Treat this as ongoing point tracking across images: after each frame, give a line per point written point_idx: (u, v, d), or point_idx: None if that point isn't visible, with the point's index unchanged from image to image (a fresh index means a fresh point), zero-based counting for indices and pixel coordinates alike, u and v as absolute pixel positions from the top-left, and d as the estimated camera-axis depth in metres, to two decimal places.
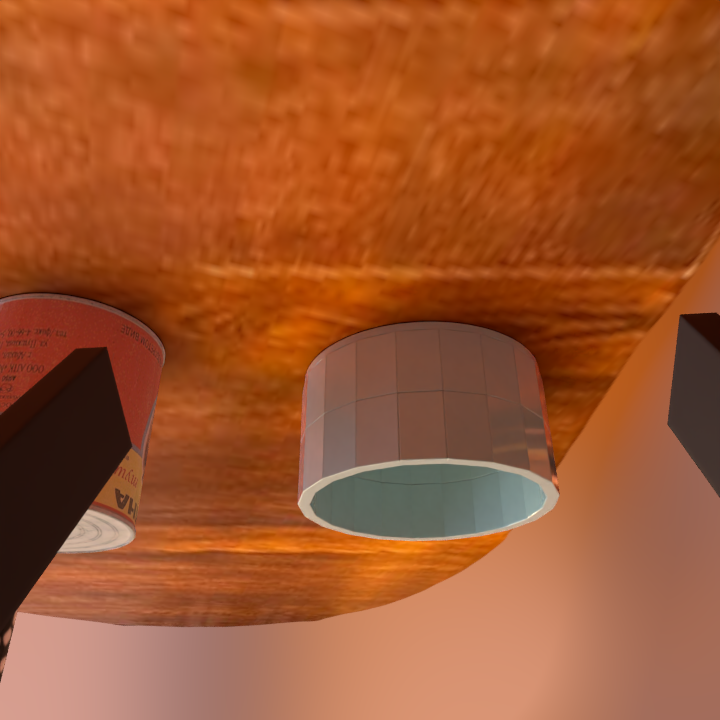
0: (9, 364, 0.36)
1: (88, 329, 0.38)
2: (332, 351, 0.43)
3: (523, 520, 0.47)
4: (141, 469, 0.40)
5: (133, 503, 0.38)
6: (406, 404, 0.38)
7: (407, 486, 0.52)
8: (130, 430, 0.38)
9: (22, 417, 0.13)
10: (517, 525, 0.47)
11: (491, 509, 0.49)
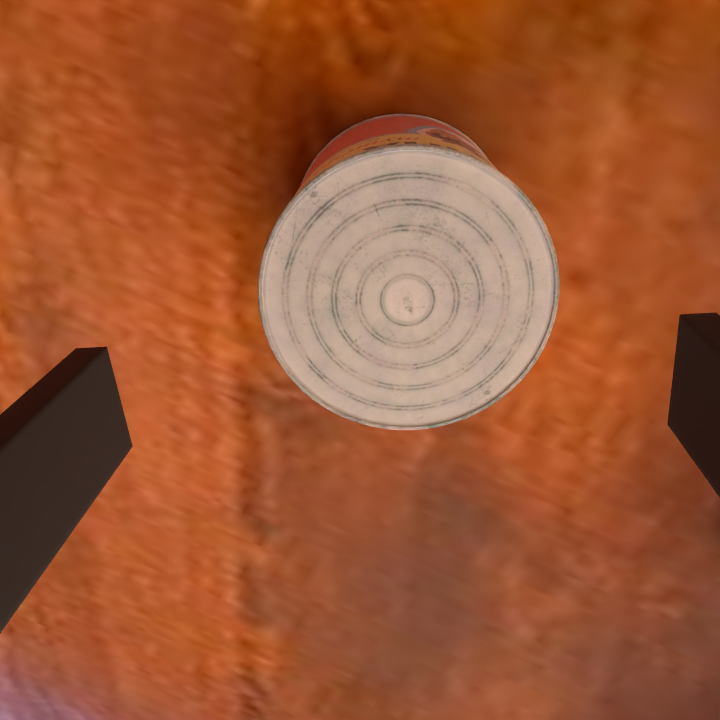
0: None
1: (309, 169, 0.33)
2: None
3: None
4: (428, 137, 0.26)
5: (417, 142, 0.24)
6: None
7: None
8: (372, 135, 0.28)
9: (22, 417, 0.13)
10: None
11: None
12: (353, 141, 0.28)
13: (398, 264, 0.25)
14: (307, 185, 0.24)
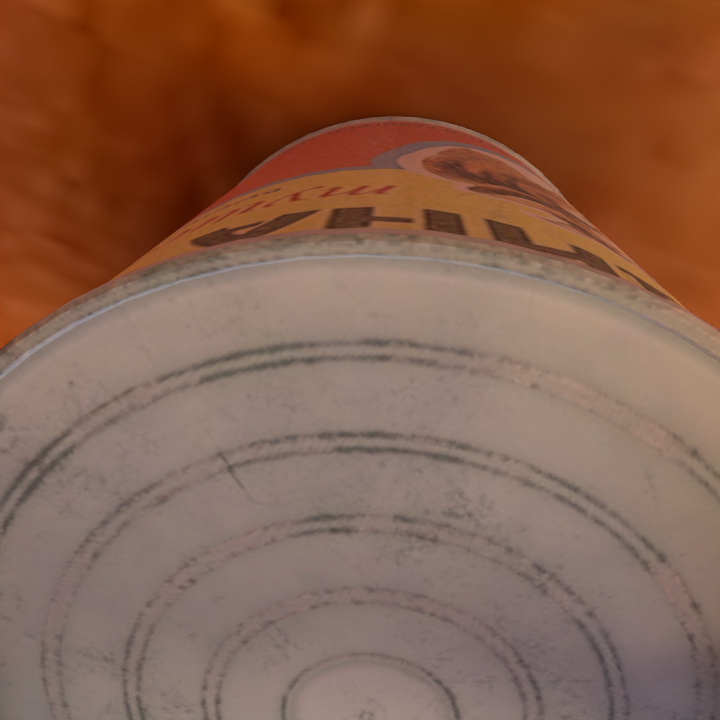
0: None
1: None
2: None
3: None
4: (426, 178, 0.09)
5: (379, 211, 0.07)
6: None
7: None
8: (279, 175, 0.10)
9: None
10: None
11: None
12: (235, 192, 0.11)
13: (328, 626, 0.07)
14: None
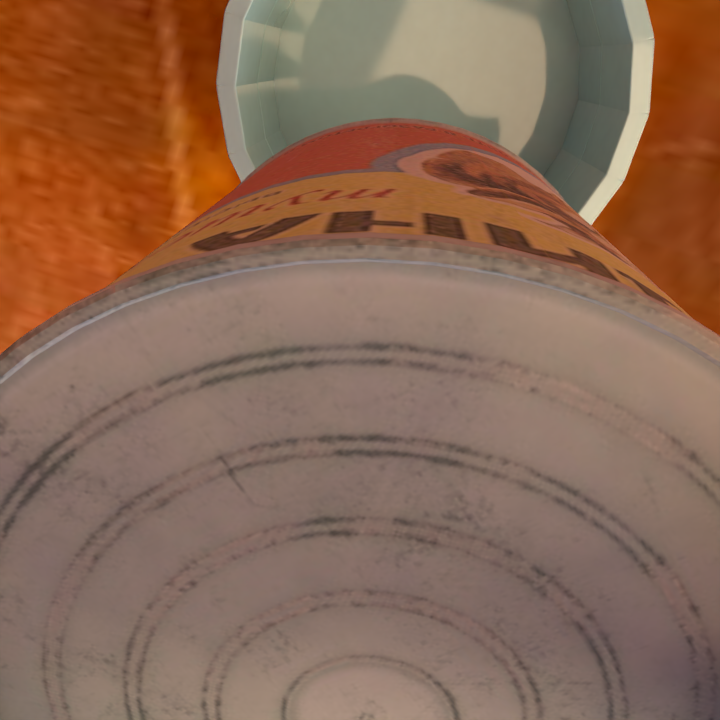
0: None
1: None
2: None
3: None
4: (426, 181, 0.09)
5: (379, 214, 0.07)
6: None
7: (598, 112, 0.30)
8: (280, 178, 0.10)
9: None
10: None
11: None
12: (235, 194, 0.11)
13: (329, 629, 0.07)
14: None
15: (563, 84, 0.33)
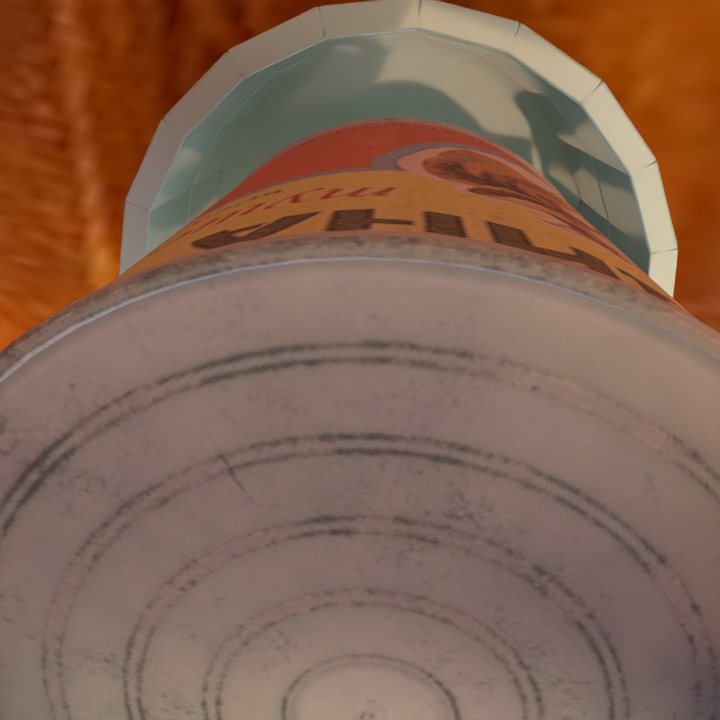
0: None
1: None
2: None
3: (520, 60, 0.17)
4: (427, 180, 0.09)
5: (380, 213, 0.07)
6: None
7: None
8: (280, 176, 0.10)
9: None
10: (559, 70, 0.17)
11: (584, 126, 0.19)
12: (235, 193, 0.11)
13: (329, 628, 0.07)
14: None
15: None
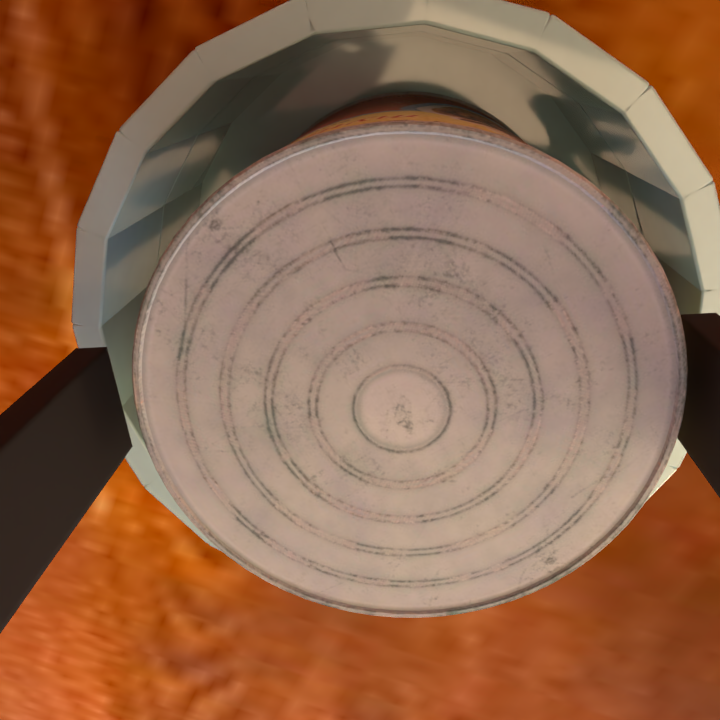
0: None
1: None
2: None
3: (550, 60, 0.14)
4: (435, 114, 0.15)
5: None
6: None
7: None
8: (342, 117, 0.16)
9: (22, 417, 0.13)
10: (598, 72, 0.14)
11: (624, 138, 0.16)
12: (312, 130, 0.17)
13: (381, 347, 0.13)
14: (201, 208, 0.12)
15: None
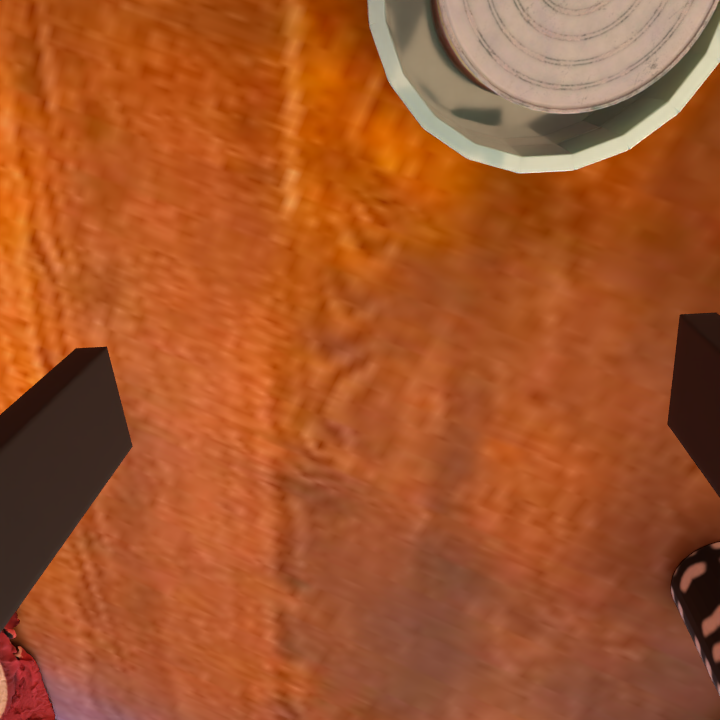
0: None
1: None
2: None
3: None
4: None
5: None
6: None
7: None
8: None
9: (22, 417, 0.13)
10: None
11: None
12: None
13: None
14: None
15: None
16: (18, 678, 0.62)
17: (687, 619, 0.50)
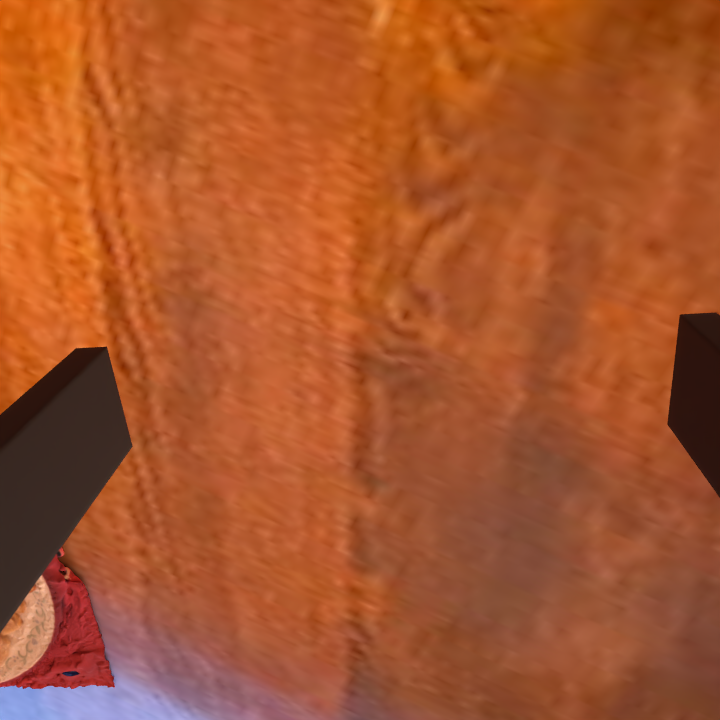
0: None
1: None
2: None
3: None
4: None
5: None
6: None
7: None
8: None
9: (22, 417, 0.13)
10: None
11: None
12: None
13: None
14: None
15: None
16: (65, 604, 0.57)
17: None
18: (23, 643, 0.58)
